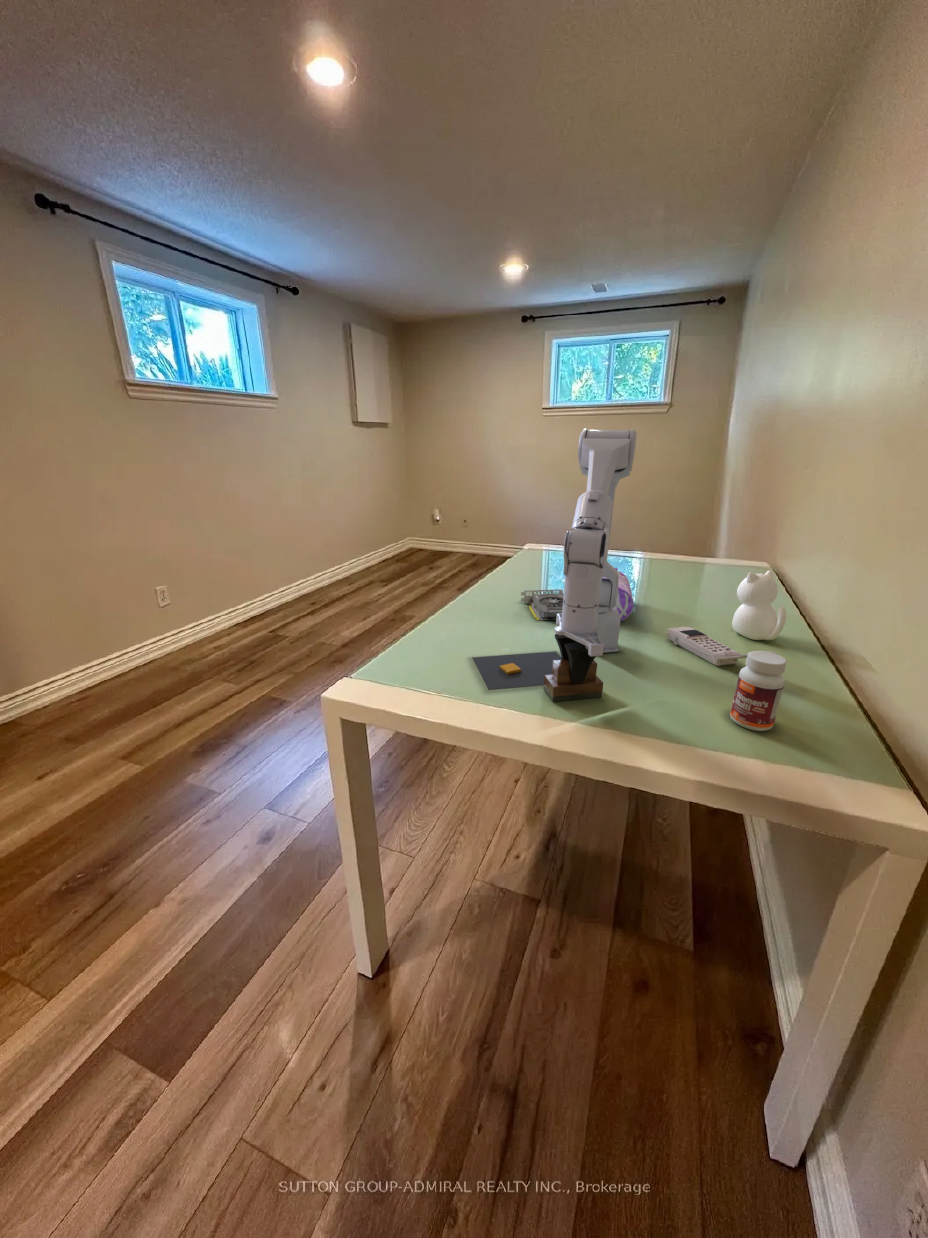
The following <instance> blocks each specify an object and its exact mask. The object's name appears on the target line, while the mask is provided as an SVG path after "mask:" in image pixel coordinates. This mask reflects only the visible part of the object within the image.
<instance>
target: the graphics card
mask: <svg viewBox="0 0 928 1238" xmlns="http://www.w3.org/2000/svg"><path fill="white" fill-rule="evenodd" d="M538 592H539V593H538ZM520 596H523V597H521V598H520V602H522V603H524V604H525V603H527V604H528V605H529V607H528V609H529V611H530V612H531V614H532V615H533V617H534V619H536V621H548V620H549V621H550V620H552V621H553V620H555V621H556V618H557V614H562V609H563V597H564V589H560V588H559V589H531V590H528V589H527V590H524V591H521V592H520Z"/></svg>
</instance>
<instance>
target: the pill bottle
mask: <svg viewBox="0 0 928 1238" xmlns="http://www.w3.org/2000/svg"><path fill="white" fill-rule="evenodd" d="M771 652H772V651H765V650H752V651H749V652H748V653H747V654H748V656H747V658H746V660H745V666H744V667H742V668H741V669H740V671H739V673H738V676H737V677H738V678H737V682H736V685H735V691H734V695H733V699H732V704H731V707H730V712H729V716H730V719H731V720H732V722H734V723H735V724H736V725H739V726H740V727H742V728H744V729H747V730H750V731H755V732H756V731H757V732H763V731H764V732H765V731H769V730H771V729H773V727H774V725H775V722H776V718H777V714H778V712H779V711H778V710H779V706H780V703H781V699H782V696H783V692H784V688H785V683H786V678H785V677H784V675H783V674H784V673H785V672H786V671H785V670H786V666H787V659H786V658H785V657H784V656H781V655H779V654H777V653H775V654H774V653H771Z"/></svg>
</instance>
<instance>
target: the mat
mask: <svg viewBox="0 0 928 1238" xmlns="http://www.w3.org/2000/svg"><path fill="white" fill-rule="evenodd" d="M471 659H472V660H473V662H474V664H475V667H476V668H477V671H478V672H479V674H480V676H481V678H482V680H483V682H484V685H485V686H486V688H487V690H488V691H493V690H506V689H518V688H528V687H541V686H544V675H552V670H553V660H562V658H561V654H559V653H558V652H557V651H543V652H542V651H541V652H530V653H528V652H527V653H516V654H514V653H513V654H502V655H500V654H499V655H487V656H485V655H484V656H474V657H473V656H472V657H471ZM510 663H514V664H515V665H516V666H518V667H519V668H520V669H521V672H517V673H512V674H506V673H505V672H504V671H502V670H501V669H500V666H501V665H506V664H510Z"/></svg>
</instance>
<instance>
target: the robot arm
mask: <svg viewBox="0 0 928 1238" xmlns="http://www.w3.org/2000/svg"><path fill="white" fill-rule="evenodd" d="M578 439H579V440H578V447H577V448H578V449H577V460H578V464H579V468H580V469H579V470H581V474H582V475H583V476H586V477H587V479H586V480H587V482H586V491H585V492H583V493H582V494H581V495H579V497H578V498H577V502H576V505H575V510H574V515H573V520H572V524H571V528H570V530H567V531H566V533H565V537H564V542H563V550H562V551H563V552H562V553H563V555H562V557H563V576H565V577H564V586H563V594H564V597H563V609H562V614H557V618H556V620H555V625H557V626H555V627H554V628H553V632H554V633H555V634H554V639H555V641H556V643H557V646H558V648H559V652H560V657H561V658H562V660H566V659H569V663H570V679H571V682H572V683H580V682H584V680H585V677H586V675H587V672H588V670H589V667H590V665H591V664H592V662H593V660H594V661H595V659H596V657H602V656H603V654H605V653H617V652H619V651H620V649H619V647H618V646H619V645H618V644H619V637H620V631H621V630H620V629H621V621H620V615H619V612H618V610H617V609H616V608H615V607H616V601H617V594H618V586H619V581H618V580H619V574H618V571H619V570H618V571H617V570H616V569H615V568H616V567H614V566H613V565H611V563H610V562H608V557H609V548H610V541H611V533H612V522H613V515H614V505H615V496H616V490H617V487H618V485H619V482H620V480H622V479H623V478H626V477H629V476H631V472H632V470H633V464H634V460H635V452H636V443H637V431H636V430H635V429H634V428H632V429H631V428H630V429H588V428H584V429H583V430H582V431H581V432H580V435H579V438H578ZM602 577H604V578H602ZM607 578H608V579H607Z"/></svg>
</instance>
